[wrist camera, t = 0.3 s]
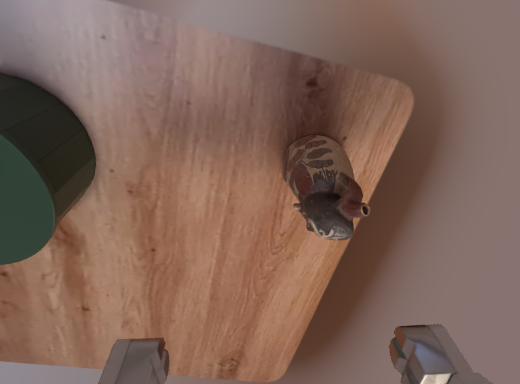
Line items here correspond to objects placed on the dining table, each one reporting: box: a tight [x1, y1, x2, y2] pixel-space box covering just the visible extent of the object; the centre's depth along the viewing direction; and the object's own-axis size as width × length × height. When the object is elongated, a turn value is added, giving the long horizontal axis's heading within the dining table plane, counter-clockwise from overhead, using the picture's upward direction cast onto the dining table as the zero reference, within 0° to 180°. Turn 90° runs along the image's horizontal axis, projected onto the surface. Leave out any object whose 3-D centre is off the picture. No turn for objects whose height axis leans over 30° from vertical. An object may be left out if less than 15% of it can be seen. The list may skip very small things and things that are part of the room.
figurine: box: [282, 135, 370, 240], centre depth 28 cm, size 7×7×12 cm
